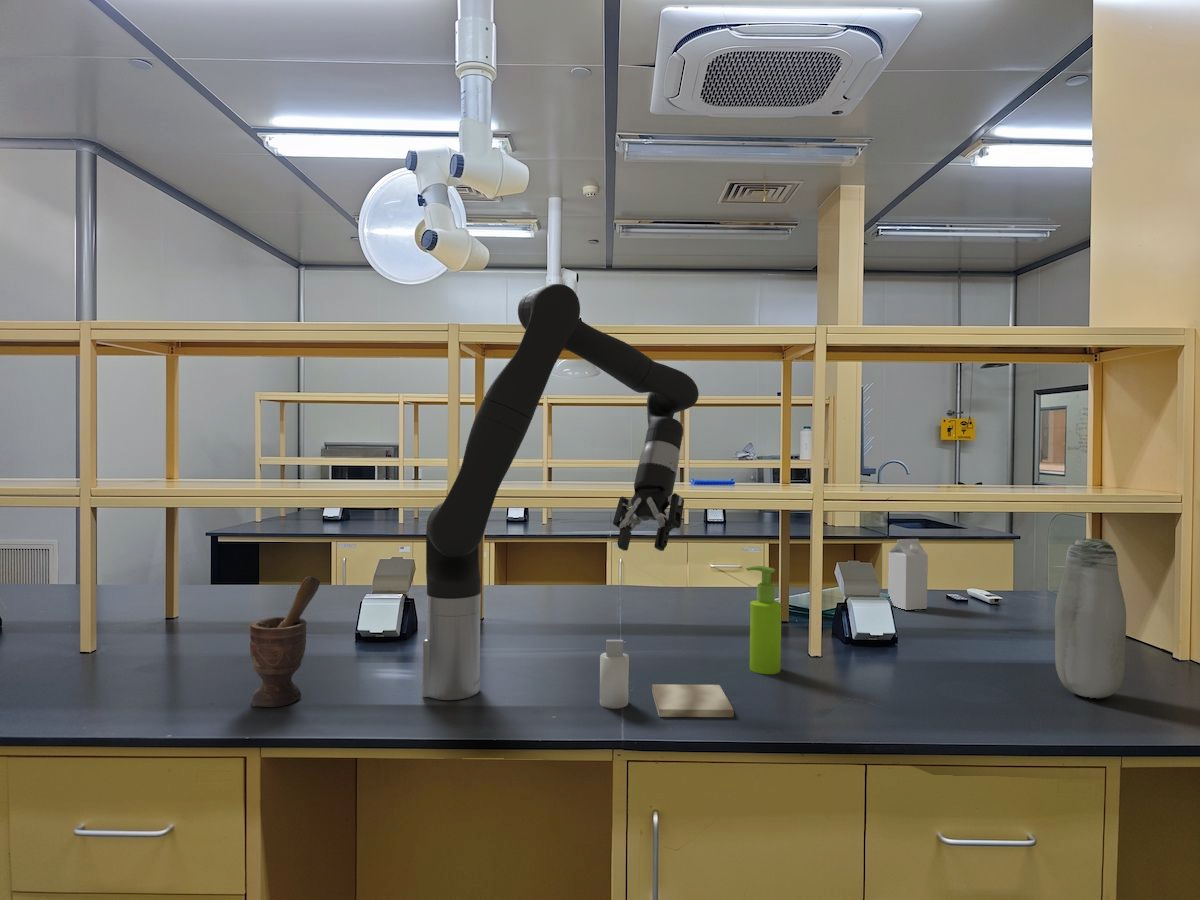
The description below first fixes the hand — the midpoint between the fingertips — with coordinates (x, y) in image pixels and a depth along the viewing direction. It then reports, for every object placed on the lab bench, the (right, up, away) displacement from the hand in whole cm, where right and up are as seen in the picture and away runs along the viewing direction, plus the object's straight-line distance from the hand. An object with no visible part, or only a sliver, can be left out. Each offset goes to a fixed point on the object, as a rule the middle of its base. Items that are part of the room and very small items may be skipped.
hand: (640, 549), depth 131 cm
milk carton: (+77, -25, +65) cm, 104 cm away
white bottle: (-5, -24, -11) cm, 27 cm away
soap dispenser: (+24, -25, +9) cm, 36 cm away
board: (+8, -24, -11) cm, 28 cm away
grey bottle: (+80, -26, -4) cm, 84 cm away
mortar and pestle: (-61, -24, -10) cm, 66 cm away
